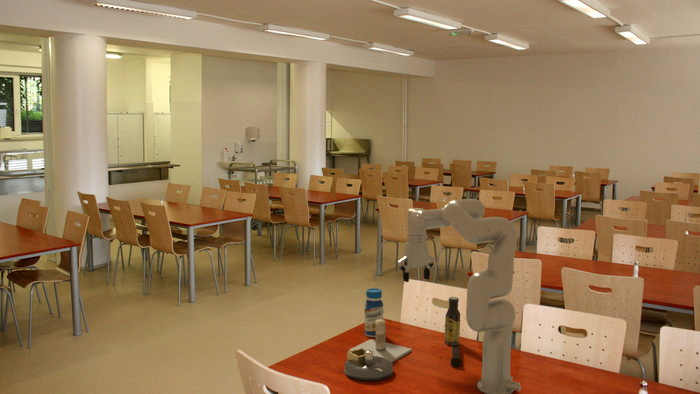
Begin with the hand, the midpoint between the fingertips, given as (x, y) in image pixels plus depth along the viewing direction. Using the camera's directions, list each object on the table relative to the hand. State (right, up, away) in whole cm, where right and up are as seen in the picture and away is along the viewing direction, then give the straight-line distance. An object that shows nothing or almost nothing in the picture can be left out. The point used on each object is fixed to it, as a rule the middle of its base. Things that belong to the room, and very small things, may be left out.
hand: (416, 280), depth 252 cm
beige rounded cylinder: (-15, -28, -1) cm, 31 cm away
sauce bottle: (+16, -28, +9) cm, 33 cm away
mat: (-15, -29, -1) cm, 32 cm away
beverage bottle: (-17, -27, +20) cm, 37 cm away
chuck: (-20, -31, -22) cm, 43 cm away
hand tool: (+14, -30, -8) cm, 34 cm away
